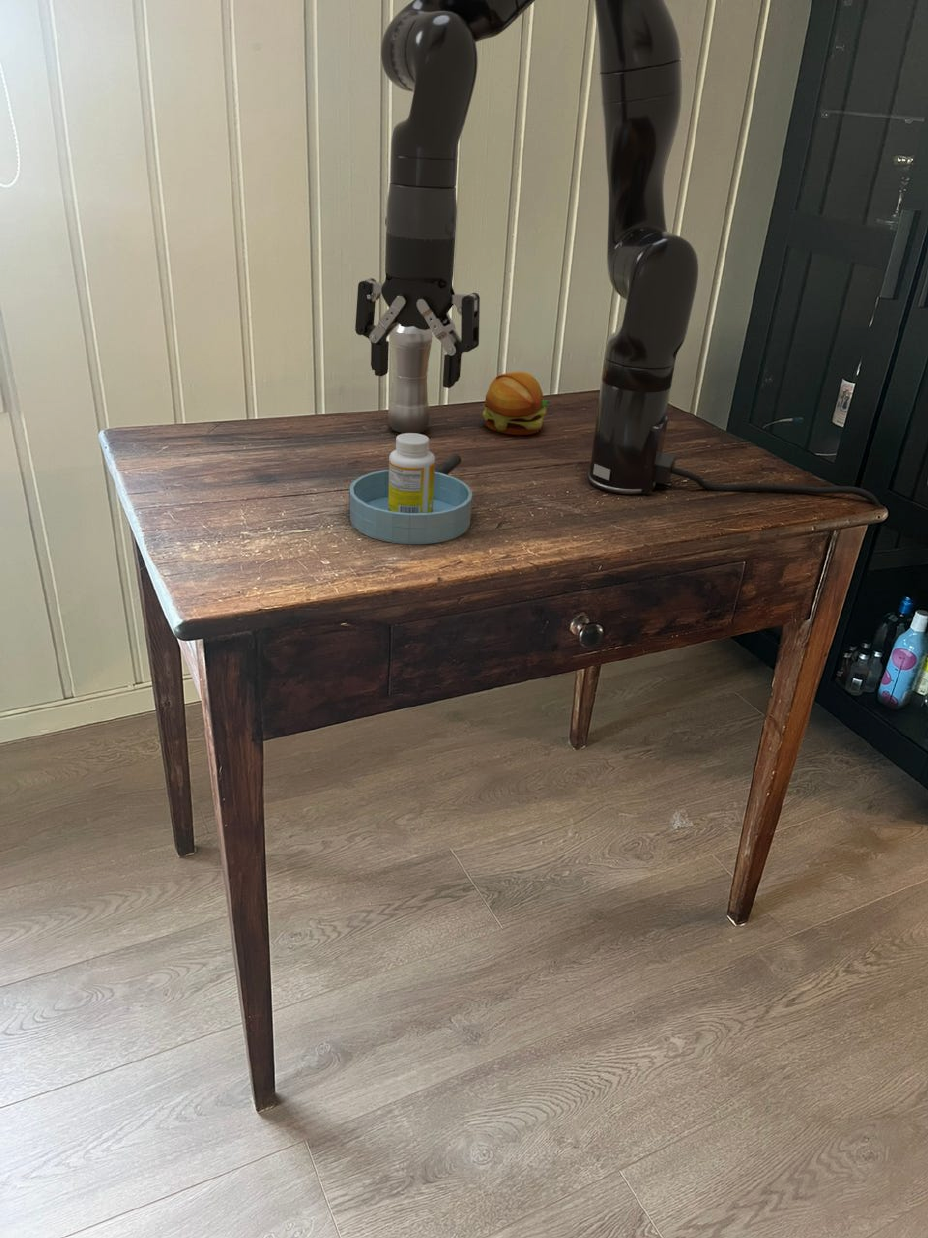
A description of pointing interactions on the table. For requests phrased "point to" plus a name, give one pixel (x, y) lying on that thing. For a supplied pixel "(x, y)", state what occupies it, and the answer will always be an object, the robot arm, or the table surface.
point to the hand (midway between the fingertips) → (414, 380)
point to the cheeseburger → (515, 404)
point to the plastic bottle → (409, 379)
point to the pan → (410, 527)
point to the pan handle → (449, 464)
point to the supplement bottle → (411, 475)
